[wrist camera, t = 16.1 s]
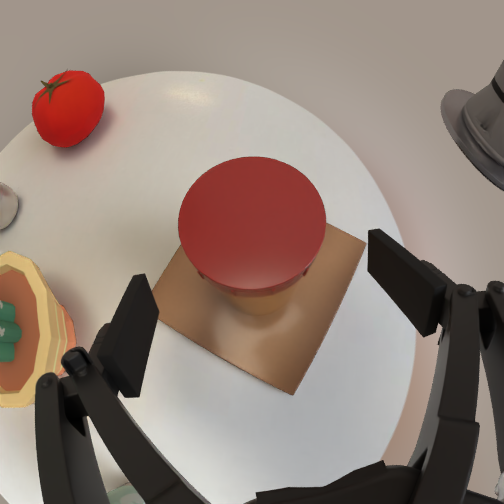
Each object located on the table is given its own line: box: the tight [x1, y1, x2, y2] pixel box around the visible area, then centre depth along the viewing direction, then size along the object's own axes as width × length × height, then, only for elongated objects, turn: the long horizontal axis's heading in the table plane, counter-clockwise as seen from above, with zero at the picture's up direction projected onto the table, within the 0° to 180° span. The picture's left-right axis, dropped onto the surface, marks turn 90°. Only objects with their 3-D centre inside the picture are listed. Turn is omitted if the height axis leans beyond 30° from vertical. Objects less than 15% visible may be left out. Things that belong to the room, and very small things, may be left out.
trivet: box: [152, 223, 366, 395], centre depth 27 cm, size 16×16×1 cm
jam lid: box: [178, 157, 326, 298], centre depth 16 cm, size 8×8×2 cm
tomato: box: [32, 71, 105, 147], centre depth 31 cm, size 12×12×11 cm
